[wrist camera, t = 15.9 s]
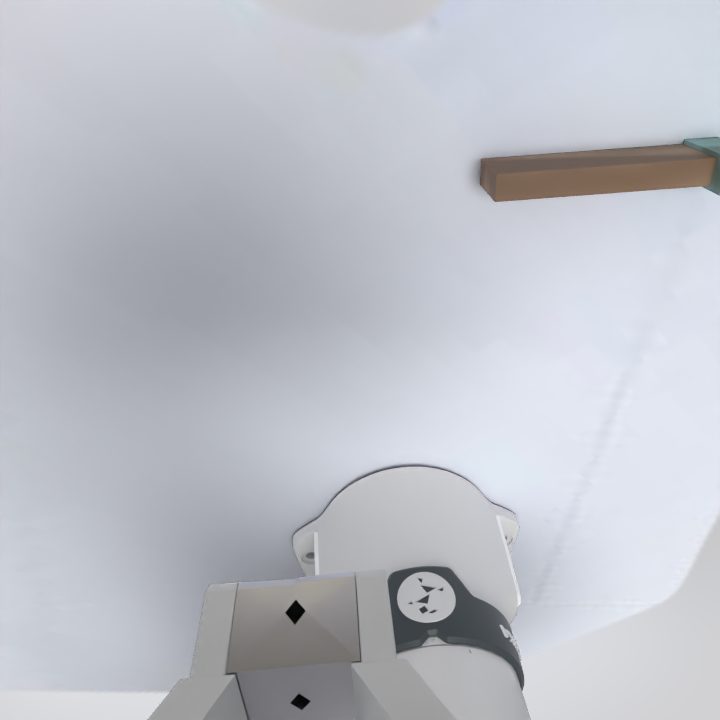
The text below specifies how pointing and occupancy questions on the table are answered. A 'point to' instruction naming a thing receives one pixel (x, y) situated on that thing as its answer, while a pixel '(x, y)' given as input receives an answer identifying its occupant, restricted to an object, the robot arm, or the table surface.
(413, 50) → the table surface
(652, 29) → the table surface
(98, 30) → the table surface
